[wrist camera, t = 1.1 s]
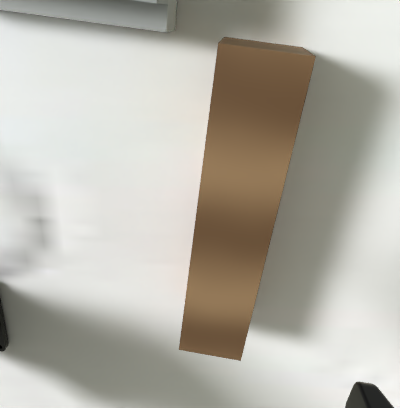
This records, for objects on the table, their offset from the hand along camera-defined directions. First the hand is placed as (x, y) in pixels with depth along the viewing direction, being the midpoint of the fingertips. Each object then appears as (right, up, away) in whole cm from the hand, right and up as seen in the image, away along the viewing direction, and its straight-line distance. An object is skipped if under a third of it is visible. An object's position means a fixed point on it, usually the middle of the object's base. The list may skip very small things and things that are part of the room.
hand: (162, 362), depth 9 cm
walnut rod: (+3, +4, +12) cm, 13 cm away
